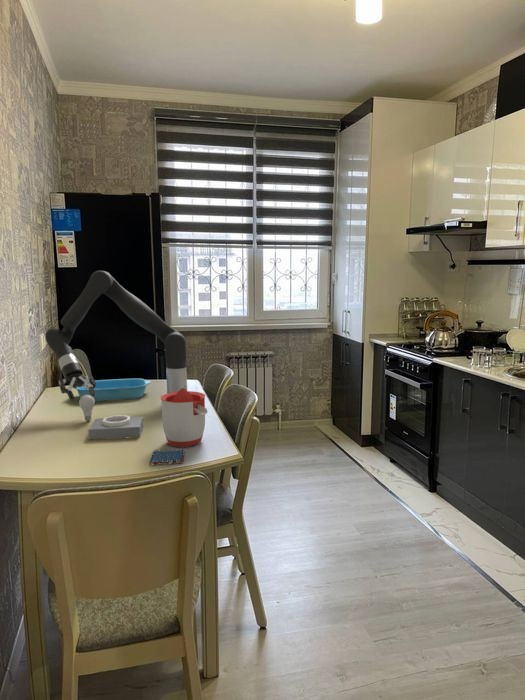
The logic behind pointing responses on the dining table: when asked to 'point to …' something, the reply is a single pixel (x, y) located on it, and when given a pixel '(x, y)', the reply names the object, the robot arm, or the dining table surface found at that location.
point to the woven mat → (167, 456)
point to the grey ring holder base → (116, 427)
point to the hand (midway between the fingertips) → (83, 397)
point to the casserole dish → (116, 389)
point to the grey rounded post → (87, 406)
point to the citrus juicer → (183, 417)
